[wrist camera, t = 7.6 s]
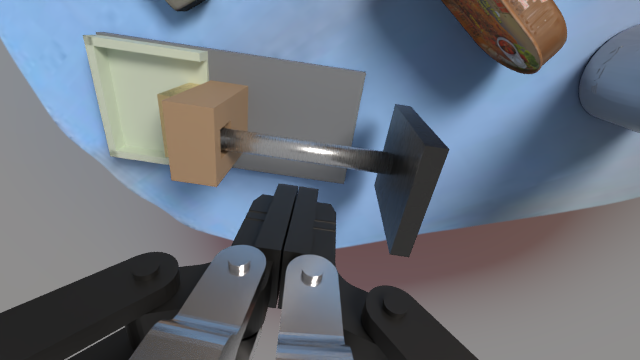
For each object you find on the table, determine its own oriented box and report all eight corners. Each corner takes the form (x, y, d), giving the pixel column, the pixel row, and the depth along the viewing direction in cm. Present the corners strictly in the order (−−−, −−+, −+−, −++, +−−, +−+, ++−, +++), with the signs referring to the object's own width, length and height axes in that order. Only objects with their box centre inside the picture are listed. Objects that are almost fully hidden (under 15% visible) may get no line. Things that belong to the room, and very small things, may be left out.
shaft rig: (365, 71, 30) (376, 91, 21) (343, 180, 36) (345, 233, 27) (103, 32, 30) (-5, 34, 21) (126, 148, 36) (51, 190, 27)
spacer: (207, 85, 30) (179, 97, 25) (210, 138, 33) (185, 159, 28) (188, 82, 30) (157, 94, 25) (193, 136, 33) (165, 156, 28)
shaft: (410, 106, 28) (449, 149, 18) (387, 187, 32) (409, 257, 22) (213, 76, 27) (145, 103, 18) (217, 162, 32) (163, 221, 22)
